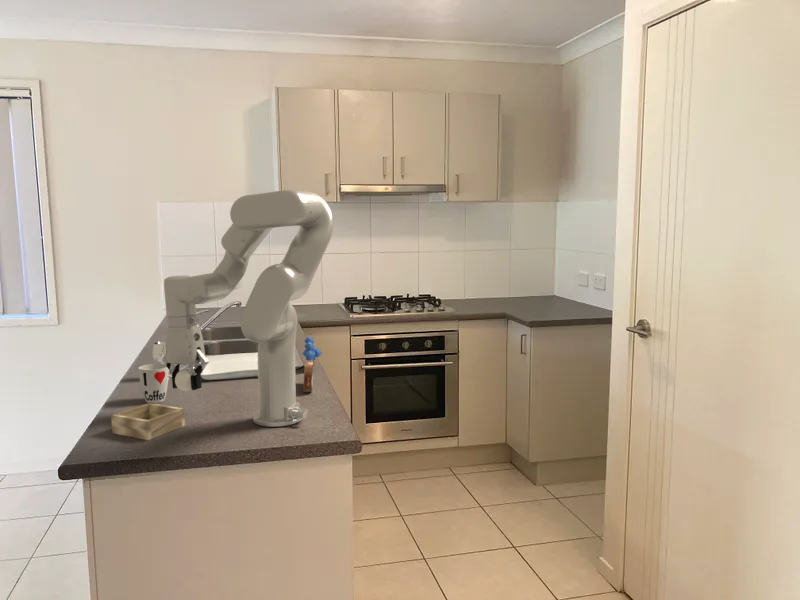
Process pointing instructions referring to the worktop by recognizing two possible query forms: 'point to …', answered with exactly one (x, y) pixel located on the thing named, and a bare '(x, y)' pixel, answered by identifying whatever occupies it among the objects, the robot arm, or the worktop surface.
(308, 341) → the grapes
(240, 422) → the worktop surface
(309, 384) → the tin
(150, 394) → the cup
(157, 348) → the wineglass
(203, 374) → the square plate
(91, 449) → the worktop surface
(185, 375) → the ball
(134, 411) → the wooden square tray
